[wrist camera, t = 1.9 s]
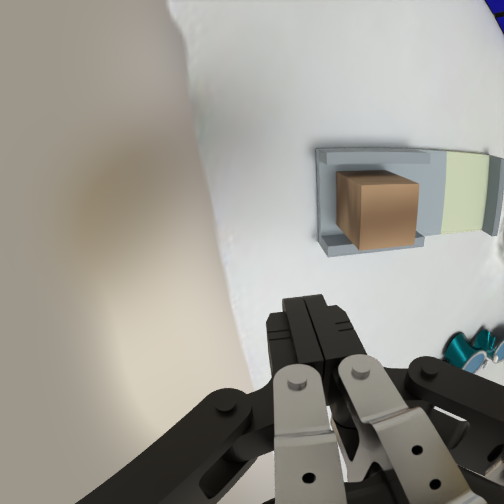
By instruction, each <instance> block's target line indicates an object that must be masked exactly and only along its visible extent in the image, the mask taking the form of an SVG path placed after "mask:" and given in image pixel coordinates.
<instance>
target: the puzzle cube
mask: <svg viewBox="0 0 504 504" xmlns="http://www.w3.org/2000/svg"><path fill="white" fill-rule="evenodd" d="M485 1H486V2H487V4H488V6H489V7H490V9H491V11H492V12H493V14H495V15H496V17H495V18H496V20H497V22H498V23H499V25H500V27H501V29H502V31H503V33H504V0H485Z"/></svg>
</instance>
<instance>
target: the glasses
mask: <svg viewBox="0 0 504 504" xmlns="http://www.w3.org/2000/svg"><path fill="white" fill-rule="evenodd" d="M495 340H496V336H493V337H492V336H491V332H488V331H487V330H485V329H484V330H482V331H480V333H479V334H478V335H477V337H476V340H475V346H472V345H471V344H470V342H469V341H468V339H467V337H466V336H465V334H463V333H460V334H458V335H457V336H455V337H454V339H453V340H452V341H451V343H450V344H449V346H448V348H447V350H446V353H445V359H446V360H448V361H449V362H450V364H451V365H454V366H456V367H458V368H461V369H463V370H466V371H468V372H470V373H473V374H475V373H476V372H477V371H478V370H479V369H480V368H481V367H482V366H483V364H484V366H483V369H484V368H485V367H486V366H487V364H488V360H487V359H486V357H487V358H489V359H491V360H492V361H493V362H494V363H499V362H501V361H503V360H504V339H503V340H502V341H501V342H500V343H499V345H498V346H497V347H496V349H495V347H494V344H495Z"/></svg>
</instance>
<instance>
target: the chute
mask: <svg viewBox="0 0 504 504" xmlns="http://www.w3.org/2000/svg"><path fill="white" fill-rule="evenodd" d="M316 164H317V191H318V242H319V244H320V245H321V247H322V249H323V250H324V252H325V253H326V255H327V257H334V256H344V255H353V254H362V253H371V252H380V251H389V250H398V249H407V248H415V247H423V246H424V239H425V237H424V236H428V235H438V234H448V233H458V232H468V231H478V230H483V231H484V232H486V233H488V234H489V235H491V236H497V233H498V228H499V222H500V215H501V208H502V200H503V192H504V159H503V158H500V157H496V156H492V155H488V154H479V153H469V152H458V151H445V150H429V149H408V148H321V149H316ZM366 170H387V171H389V172H392V173H394V174H397V175H399V176H402V177H404V178H407V179H409V180H412V181H414V182H416V183H419V200H418V214H417V225H416V234H415V243H414V245H408V246H399V247H389V248H380V249H371V250H362V251H359V250H358V249H357V247H356V246H355V245H354V244H353V243H352V242H351V241H350V240H349V238H348V237H347V236H346V235H345V234H344V233H343V232H342V231H341V229H340V228H339V227H338V226H337V225H336V171H366Z"/></svg>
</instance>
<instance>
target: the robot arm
mask: <svg viewBox="0 0 504 504" xmlns="http://www.w3.org/2000/svg"><path fill="white" fill-rule="evenodd" d="M282 308H283V312H277V313H270V315H269V317H268V319H267V321H266V328H267V341H268V353H269V360H270V368H271V375H272V378H271V380H270V381H269V383H268V384H267V385H266V386H264V387H263V388H261V389H259V390H257V391H255V392H252V393H249V394H245V393H244V392H242V391H240V390H238V389H233V388H224V389H219V390H216V391H214V392H212V393H210V394H209V395H208V396H206V397H205V398H204V399H203V400H202V401H201V402H200V403H199V404H198V405H197V406H196V407H194V408H193V409H192V410H191V411H190V412H189V413H188V414H187V415H186V416H184V417H183V418H182V419H181V420H180V421H179V422H177V423H176V424H175V425H174V426H173V427H172V428H171V429H169V430H168V431H167V432H166V433H165V434H164V435H163V436H161V437H160V438H159V439H158V440H157V441H155V442H154V443H153V444H152V445H151V446H149V447H148V448H147V449H146V450H145V451H144V452H142V453H141V454H140V455H138V456H137V457H136V458H135V459H134V460H132V461H131V462H130V463H129V464H127V465H126V466H125V467H124V468H122V469H121V470H120V471H119V472H117V473H116V474H115V475H113V476H112V477H111V478H110V479H108V480H107V481H105V482H104V483H103V484H101V485H100V486H99V487H97V488H96V489H95V490H93V491H92V492H91V493H89V494H88V495H86V496H85V497H84V498H82V499H81V500H80V501H78V502H77V503H75V504H216V503H217V502H218V501H219V500H220V499H221V498H222V497H223V496H224V495H225V494H226V493H227V492H228V491H229V490H230V489H231V488H232V487H233V486H234V485H235V483H236V482H237V481H238V480H239V479H240V477H242V476H243V475H244V473H245V472H246V471H247V470H248V469H249V468H250V467H251V465H252V464H253V463H254V462H255V461H256V459H257V457H258V456H261V455H263V454H266V453H268V452H271V451H273V450H274V461H275V498H273V499H271V500H269V501H266V502H264V503H262V504H504V386H502V385H500V384H497V383H495V382H492V381H490V380H487V379H485V378H483V377H480V376H478V375H475V374H473V373H470V372H468V371H466V370H463V369H461V368H458V367H456V366H454V365H451V364H449V363H447V362H444V361H442V360H439V359H437V358H434V357H430V356H423V357H419V358H416V359H415V360H413V361H412V362H411V363H410V365H409V368H408V369H398V368H386V367H383V366H382V365H381V363H380V362H379V361H378V360H377V359H375V358H373V357H371V356H368V355H367V353H366V351H365V349H364V347H363V345H362V343H361V341H360V339H359V337H358V335H357V333H356V331H355V330H354V327H353V325H352V324H351V322H350V320H349V318H348V316H347V314H346V312H345V311H344V310H342V309H341V308H340V307H338V306H337V305H333V306H327V304H326V302H325V300H324V297H323V295H322V294H318V295H310V296H303V297H294V298H285V299H282ZM326 406H330V409H331V412H332V414H331V420H330V422H331V426H332V429H333V431H331V429H330V425H329V419H328V413H327V408H326ZM435 406H437V407H439V408H441V409H443V410H445V411H447V412H450V413H452V414H454V415H456V416H459V417H461V418H463V419H465V420H467V421H460V420H457V419H455V418H453V417H451V416H448V415H446V414H444V413H442V412H440V411H437V410H435V409H434V407H435ZM337 442H338V444H337ZM338 445H339V448H340V450H341V453H342V456H343V458H344V461H345V464H346V467H347V479H348V482H344V480H343V474H342V468H341V462H340V456H339V450H338ZM457 464H458V465H457ZM459 465H460V466H459ZM461 466H462V467H461ZM463 467H464V468H463ZM465 468H467V469H469V470H472V471H474V472H476V473H479V474H481V475H483V476H485V477H486V478H484V477H482V476H480V475H478V474H476V473H474V472H472V471H469V470H467V469H465Z"/></svg>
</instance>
